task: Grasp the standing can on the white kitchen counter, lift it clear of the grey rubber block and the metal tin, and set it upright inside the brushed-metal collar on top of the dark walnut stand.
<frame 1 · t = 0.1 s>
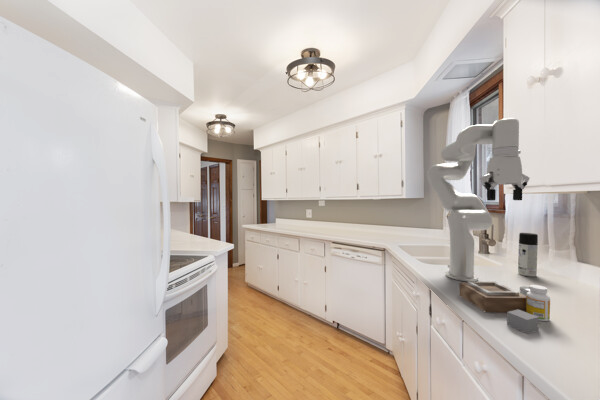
hand: (504, 200, 92), 37 cm above the worktop, tool pointing down, fingers open, 9 cm apart
walnut stand: (491, 303, 89), on the worktop
metal tin: (530, 297, 95), on the worktop
grey rubber block: (522, 327, 73), on the worktop
supplement bottle: (537, 318, 79), on the worktop
spray can: (527, 275, 120), on the worktop
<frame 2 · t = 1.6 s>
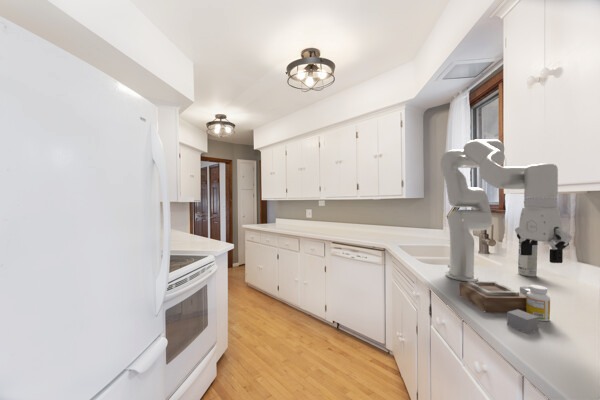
hand: (540, 258, 78), 19 cm above the worktop, tool pointing down, fingers open, 9 cm apart
nothing on the worktop moved.
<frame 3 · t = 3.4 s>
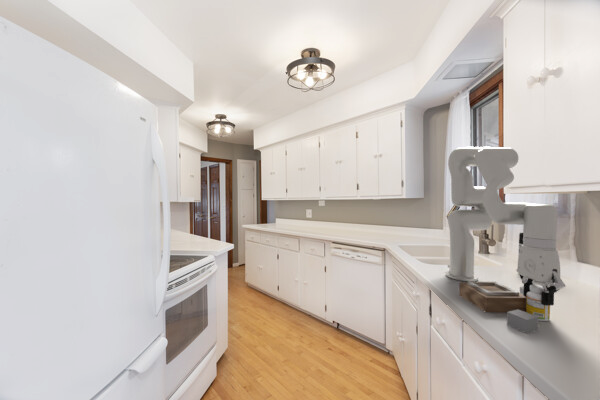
hand: (537, 300, 79), 6 cm above the worktop, tool pointing down, fingers closed on supplement bottle, 5 cm apart
supplement bottle: (537, 318, 79), on the worktop, touching gripper
everything else where it was.
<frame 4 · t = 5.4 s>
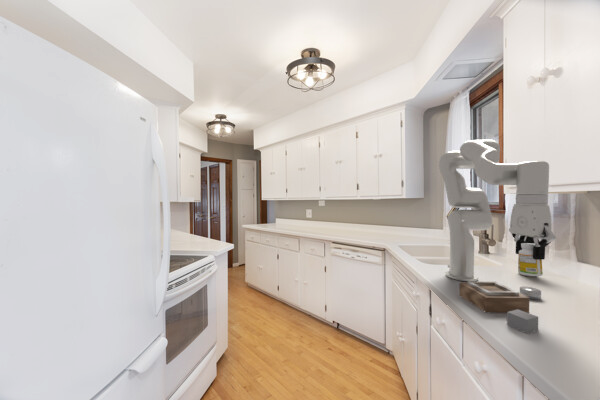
hand: (529, 255, 80), 19 cm above the worktop, tool pointing down, fingers closed on supplement bottle, 5 cm apart
supplement bottle: (531, 275, 80), point 13 cm above the worktop, touching gripper
everything else where it was.
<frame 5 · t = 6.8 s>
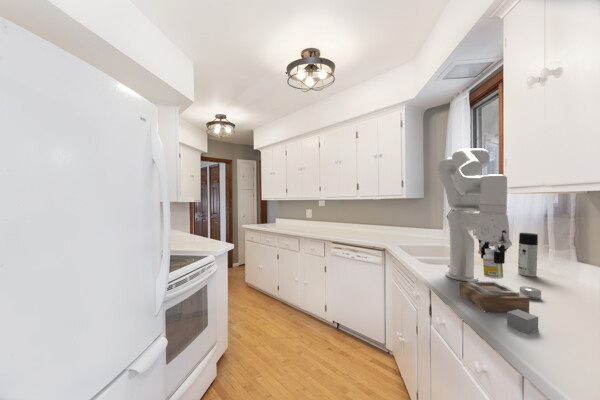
hand: (492, 260, 88), 15 cm above the worktop, tool pointing down, fingers closed on supplement bottle, 5 cm apart
supplement bottle: (493, 277, 88), point 9 cm above the worktop, touching gripper
everything else where it was.
when the fingers open (12 cm above the worktop, at t = 7.8 s): supplement bottle drops 1 cm, resting on walnut stand.
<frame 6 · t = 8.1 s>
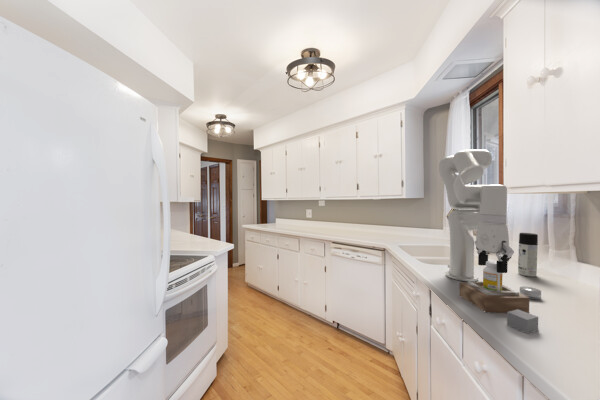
hand: (492, 268, 89), 13 cm above the worktop, tool pointing down, fingers open, 8 cm apart
supplement bottle: (492, 290, 89), point 5 cm above the worktop, touching walnut stand
everything else where it was.
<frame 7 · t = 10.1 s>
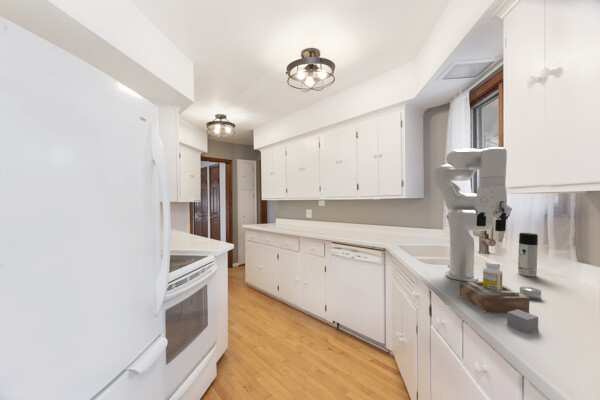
hand: (490, 228, 92), 26 cm above the worktop, tool pointing down, fingers open, 9 cm apart
nothing on the worktop moved.
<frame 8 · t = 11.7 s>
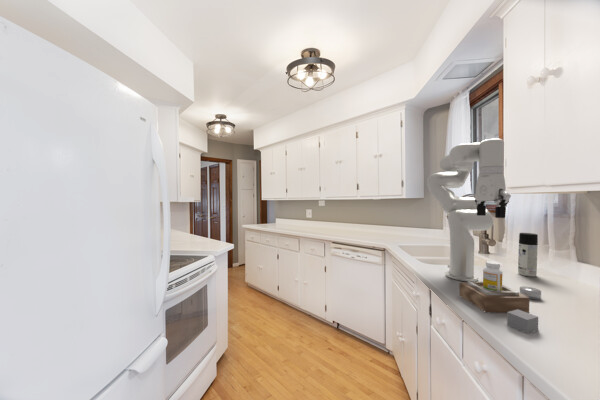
hand: (490, 216, 96), 30 cm above the worktop, tool pointing down, fingers open, 9 cm apart
nothing on the worktop moved.
at the end: supplement bottle 0.3 cm off-centre on the walnut stand, point 4.8 cm above the walnut stand's base; supplement bottle tilted 0°; the gripper is holding nothing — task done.
